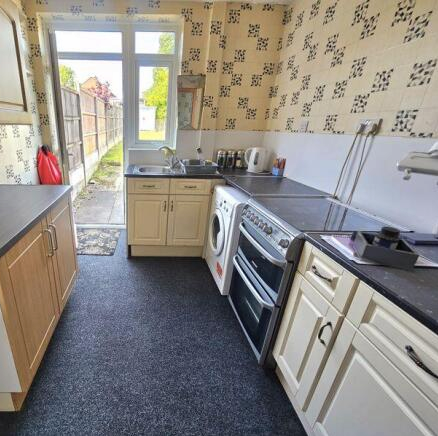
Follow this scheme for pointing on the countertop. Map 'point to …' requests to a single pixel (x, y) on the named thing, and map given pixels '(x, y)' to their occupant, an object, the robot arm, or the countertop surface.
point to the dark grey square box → (385, 252)
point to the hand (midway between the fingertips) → (421, 181)
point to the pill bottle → (387, 238)
